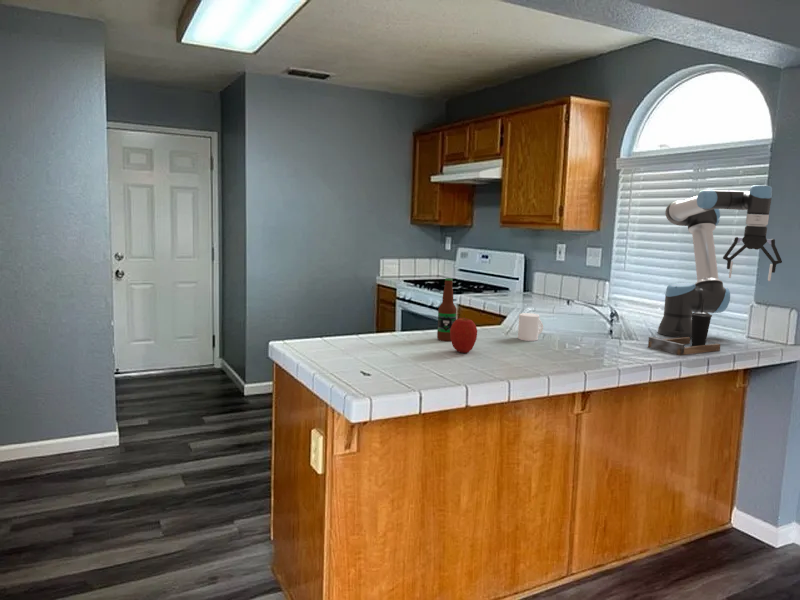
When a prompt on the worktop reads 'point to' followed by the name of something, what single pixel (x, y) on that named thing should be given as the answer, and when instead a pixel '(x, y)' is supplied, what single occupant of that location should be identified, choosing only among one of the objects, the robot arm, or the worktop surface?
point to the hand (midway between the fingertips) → (749, 279)
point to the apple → (463, 334)
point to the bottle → (446, 312)
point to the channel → (680, 346)
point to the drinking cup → (700, 326)
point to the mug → (529, 327)
